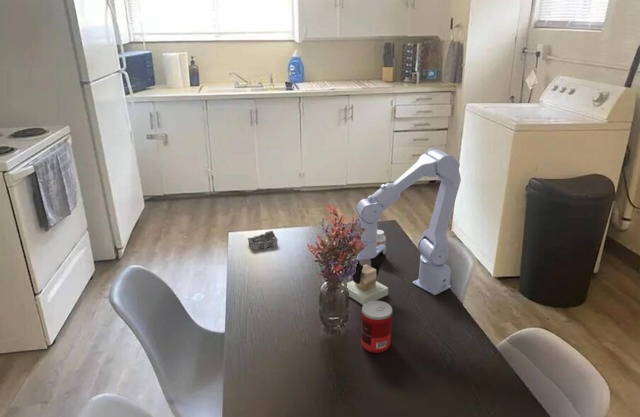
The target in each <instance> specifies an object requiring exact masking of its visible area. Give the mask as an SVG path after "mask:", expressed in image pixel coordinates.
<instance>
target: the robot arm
mask: <svg viewBox="0 0 640 417" xmlns="http://www.w3.org/2000/svg"><path fill="white" fill-rule="evenodd" d="M460 165H461V164H460V162H459V161H458V160H457V159H456V158H455V157H454V156H453V155H451V154H448V153H446V152H444V151H442V150H441V149H440V148H438V147H431V148H429V149H428V150H427V151H426V152H425V153H423V154H421V155H420V156H419V158H418V160H417V161H416V162H415V163H414V164H413V165H412V166H411V167H410V168H409V169H407V170H406V171H405V172H404V173H403V174H402V175H400V177H398V178H397V179H396V180H395V181H394V182H386V183H385V184H384V183H383V184H381V185H380V186H379V187H380V188H379V189H378V190H376V191H375V192H373V194H371V195H368V196H367V198H362V199H360V201H359V202H357V205H356V206H355V208H354V209H355V210H354V211H355V212H356V214H357V215H358V216H357V217H358V218H359V219H360V222H361V228H365V231H364V232H363V234H362V235H361V241H362V243H364V244H365V245H366V246H365V248H364V249H363V250H362V251H361V252H360V253H359V254H358V256H357V258H356V259H357V260H358V264H357V267H356V273H355V274H354V275H353V276H352V275H351V276H352V281H354V282H355V283H357V284H360V278H361V272H362V269H363V267H364V266H363V265H362V264H361V262H360V261H364V260H370V266H371V267H372V268H374V269H376V277H377V276H379V273H380V270H381V267H382V265H383V263H384V261H385V260H386V259H387V255H386V251H387V246H384V245H382V244H381V245H377V230H378V221H379V220H380V219H381V218H382V214H383V212H384V211H385V210H386V209H388V208H389V207H390V206H392V205H393V204H394V203H395V202H396V201H398V200H399V199H400V198H401V193H402V192H403V191H404V190H407V188H409V187H410V186H411V185H414V183H416V182H417V181H419V180H420V179H422V178H423V177H430V178H431V177H433V178H436V177H437V178H438V179H439V180H440V185H439V188H438V191H437V196H436V199H435V203H434V206H433V210H432V211H433V212H432V214H431V219H430V223H429V225H428V226H429V227H428V229H426V230H424V231H423V233H422V236H421V238H420V239H419V240H418V242H417V249H418V250H419V252H420V257H419V259H420V260H419V270H418V271H419V272H418V278H417V279H416V280H413V281H412V285H415V286H416V287H418V288H420V289H422V290H424V291H425V292H428V293H430V294H432V295H433V296H436V295H438V294H440V293H443V292H444V291H447V290H448V289H450V288H451V274H452V270H451V267H450V266H449V265H447V264H446V263H445V262H447V260H448V259H449V255H450V254H449V245H450V243H449V239H448V237H447V232H448V228H449V225H450V222H451V217H452V214H453V211H454V210H453V209H454V206H455V204H456V203H455V202H456V200H457V196H458V192H459V188H460V185H461V180H462V178H461V173H460V167H461V166H460ZM376 245H377V246H376ZM384 252H385V254H383V253H384Z"/></svg>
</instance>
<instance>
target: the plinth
mask: <svg viewBox="0 0 640 417" xmlns="http://www.w3.org/2000/svg"><path fill="white" fill-rule="evenodd" d="M346 283H347V288H348V291H349V296H348V297H350V298H351V299H353V300H354V301H356V302H358V303H359V304H361V305H362V306H363V305H364V304H366V303H367V302H370V301H379V300H380V299H382V298H384V297H386V296H388V295H389V287H387V286H386V285H384V284H382V283H380V282H379V281H377V280H376V287H374V288H372V289H370V290H367V291H363V290H362V289H360V288H358V287H357V286H355V282H354V281H353V280H351V281H349V282H346Z"/></svg>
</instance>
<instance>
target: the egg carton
mask: <svg viewBox="0 0 640 417" xmlns="http://www.w3.org/2000/svg"><path fill="white" fill-rule="evenodd" d="M247 240H248V246H249V247H250V250H255V251H258V250H259V249H267V248H268V247H272V248H275V247H277V245H278V241H279V239H278V238H277V237H276V234H275V232H274V230H270V231H266V232H265V233H263V234H262V233H261V234H259V235H255V236H253V237H247Z"/></svg>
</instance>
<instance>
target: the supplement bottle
mask: <svg viewBox="0 0 640 417" xmlns="http://www.w3.org/2000/svg"><path fill="white" fill-rule="evenodd" d="M386 240H387V238H386V235H385V231H384V230H382V229H377V245H381V244H382V245H384V246H386V245H387V243H386V242H387V241H386ZM377 245H376V246H377ZM386 247H387V246H386ZM383 254H385V255H386V252H384V253H383Z"/></svg>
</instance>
